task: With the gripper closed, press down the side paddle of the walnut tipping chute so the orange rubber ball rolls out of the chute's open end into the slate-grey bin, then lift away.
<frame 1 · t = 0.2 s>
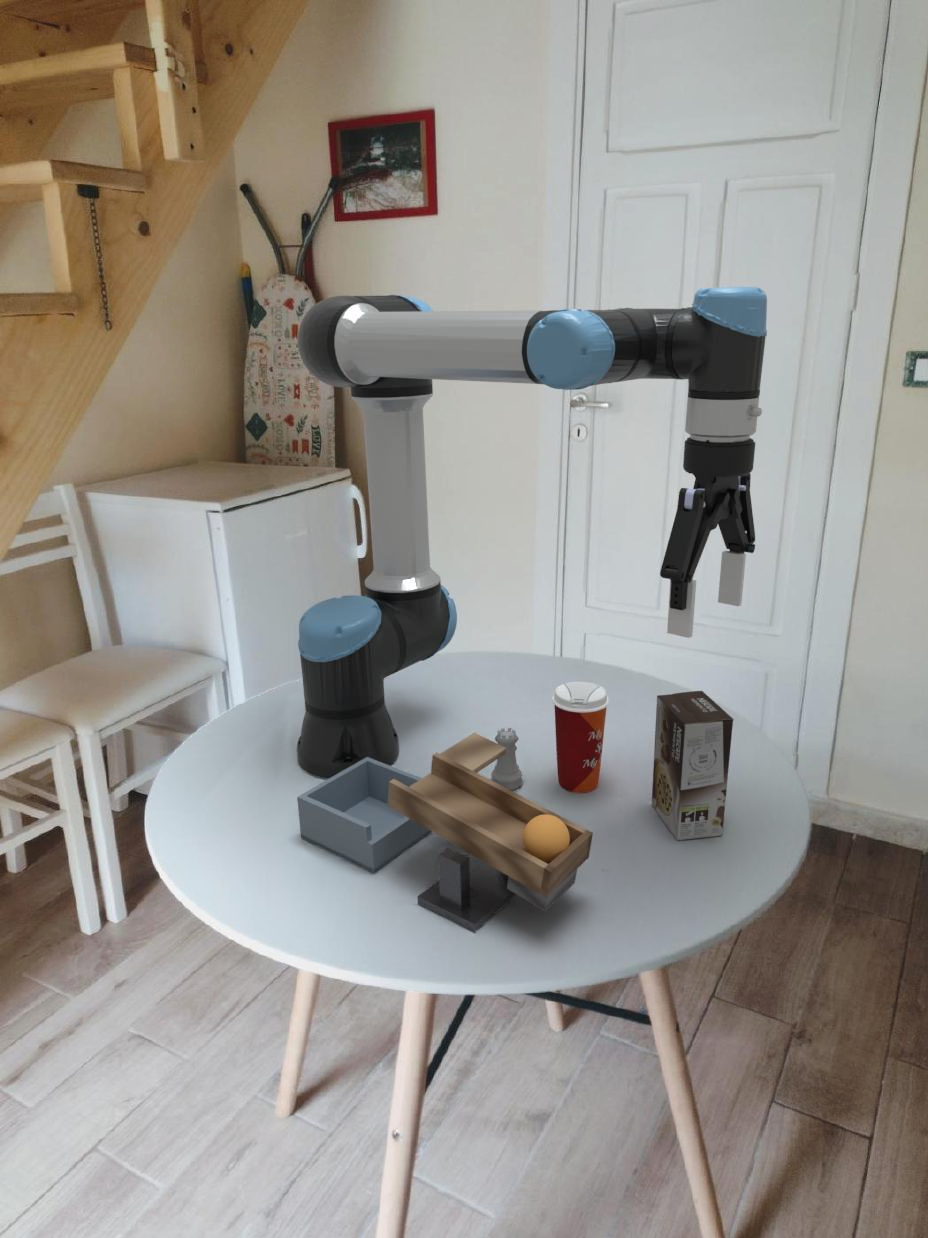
hand: (705, 618, 103), 28 cm above the table, tool pointing down, fingers open, 13 cm apart
ball: (546, 838, 93), point 9 cm above the table, tilted 25°, touching chute
bin: (371, 831, 111), on the table
paper cup: (578, 783, 122), on the table
chute: (503, 816, 101), point 7 cm above the table, hinge at -8.0°, touching ball
stand: (486, 883, 101), on the table
coffee box: (685, 820, 113), on the table
rook chess piece: (506, 784, 122), on the table
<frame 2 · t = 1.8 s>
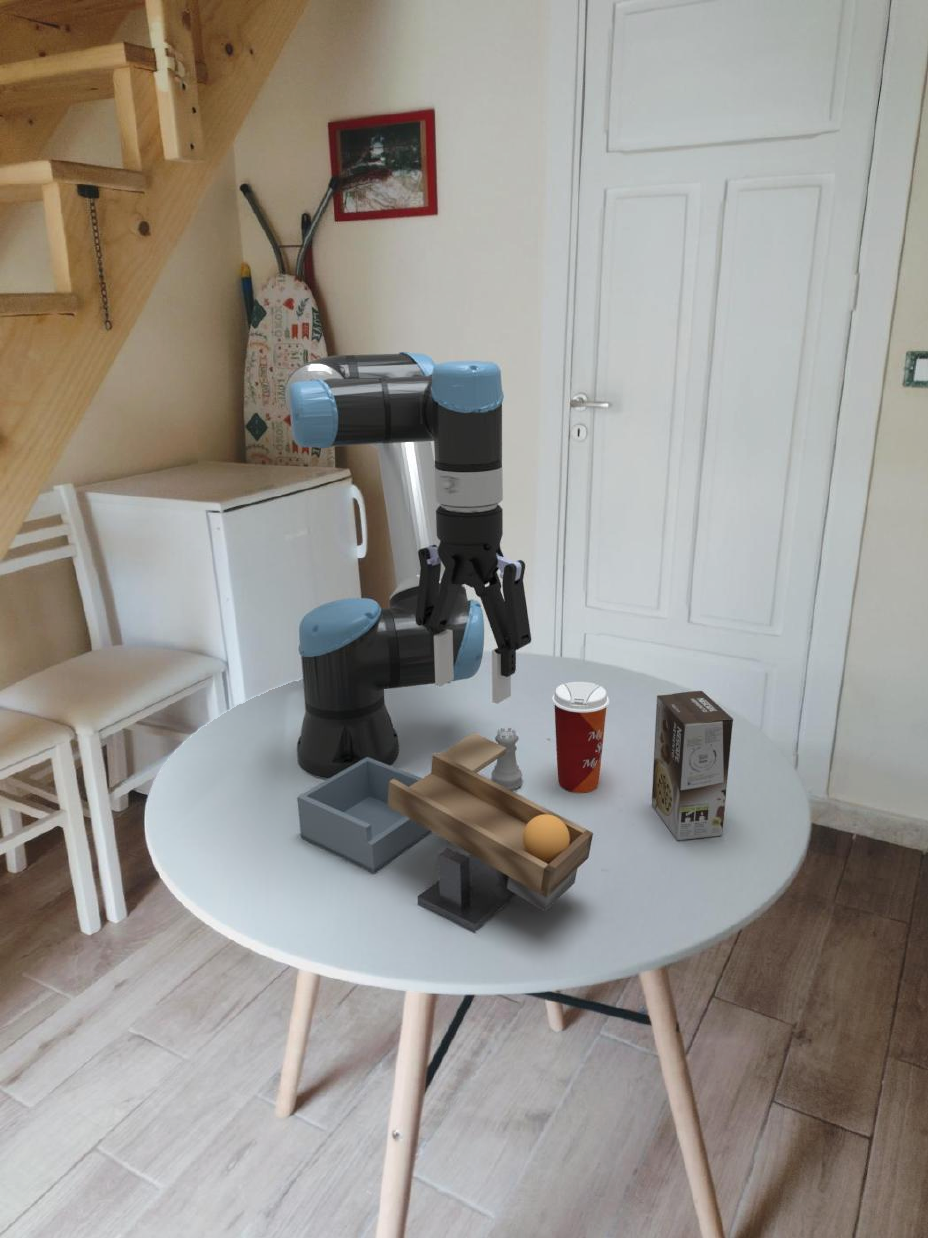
hand: (472, 690, 105), 19 cm above the table, tool pointing down, fingers open, 8 cm apart
nothing on the table moved.
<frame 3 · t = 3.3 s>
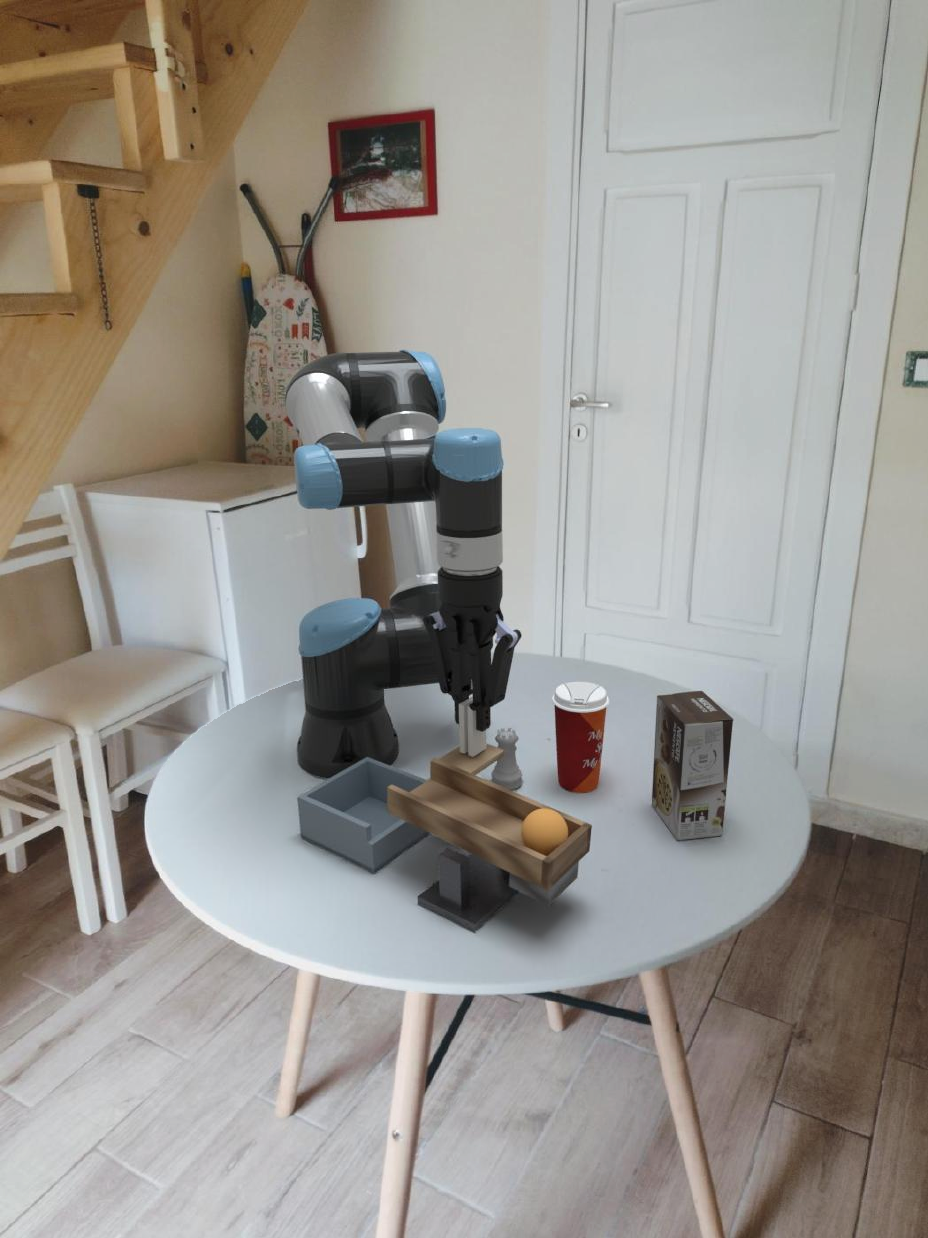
hand: (473, 750, 108), 11 cm above the table, tool pointing down, fingers closed, pressing on chute
chute: (503, 816, 101), point 7 cm above the table, hinge at -3.2°, touching ball, gripper
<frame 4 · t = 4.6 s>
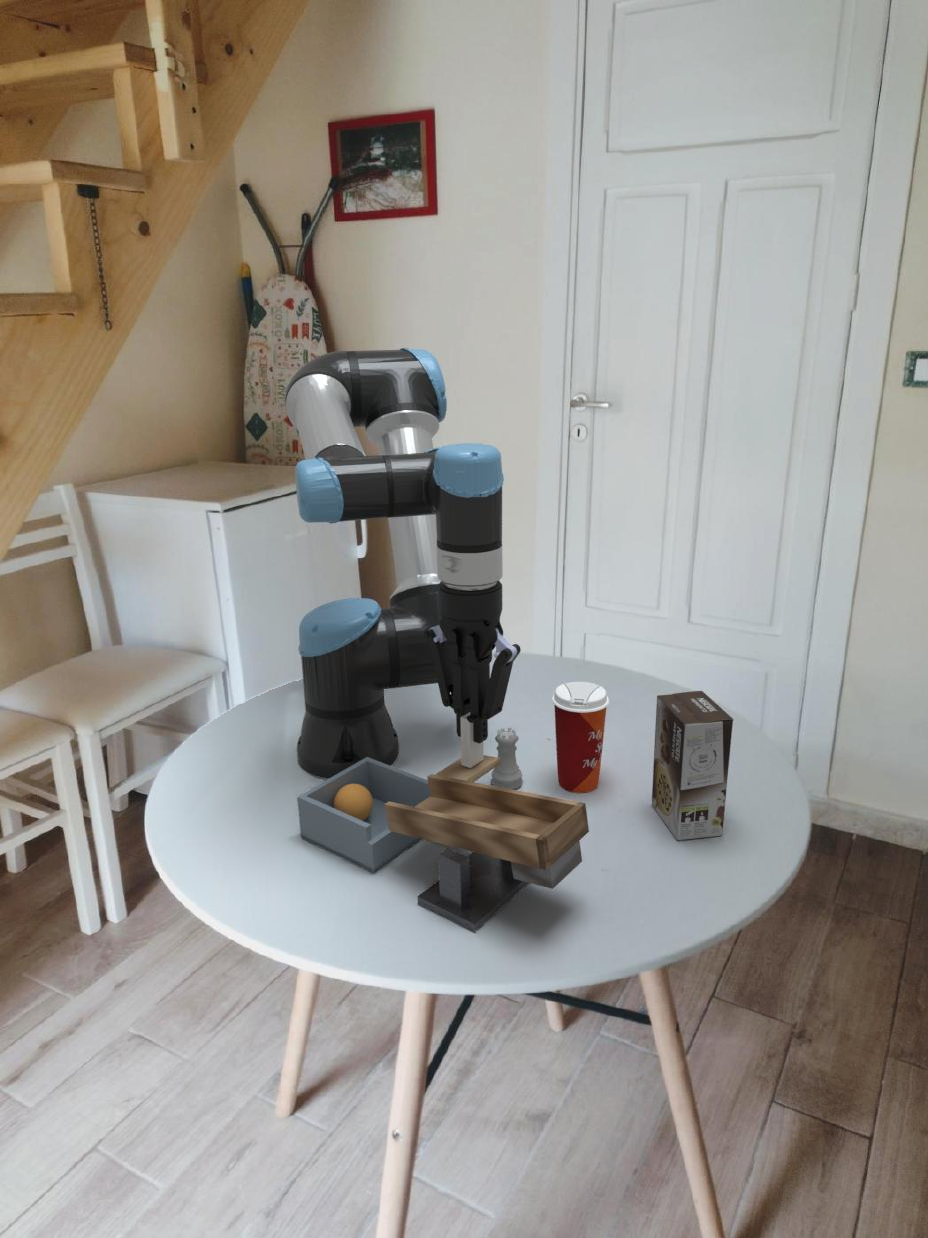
hand: (472, 762, 109), 9 cm above the table, tool pointing down, fingers closed
ball: (353, 803, 112), point 3 cm above the table, tilted 58°, touching bin
chute: (502, 815, 101), point 7 cm above the table, hinge at 9.4°, touching gripper
everything else where it was.
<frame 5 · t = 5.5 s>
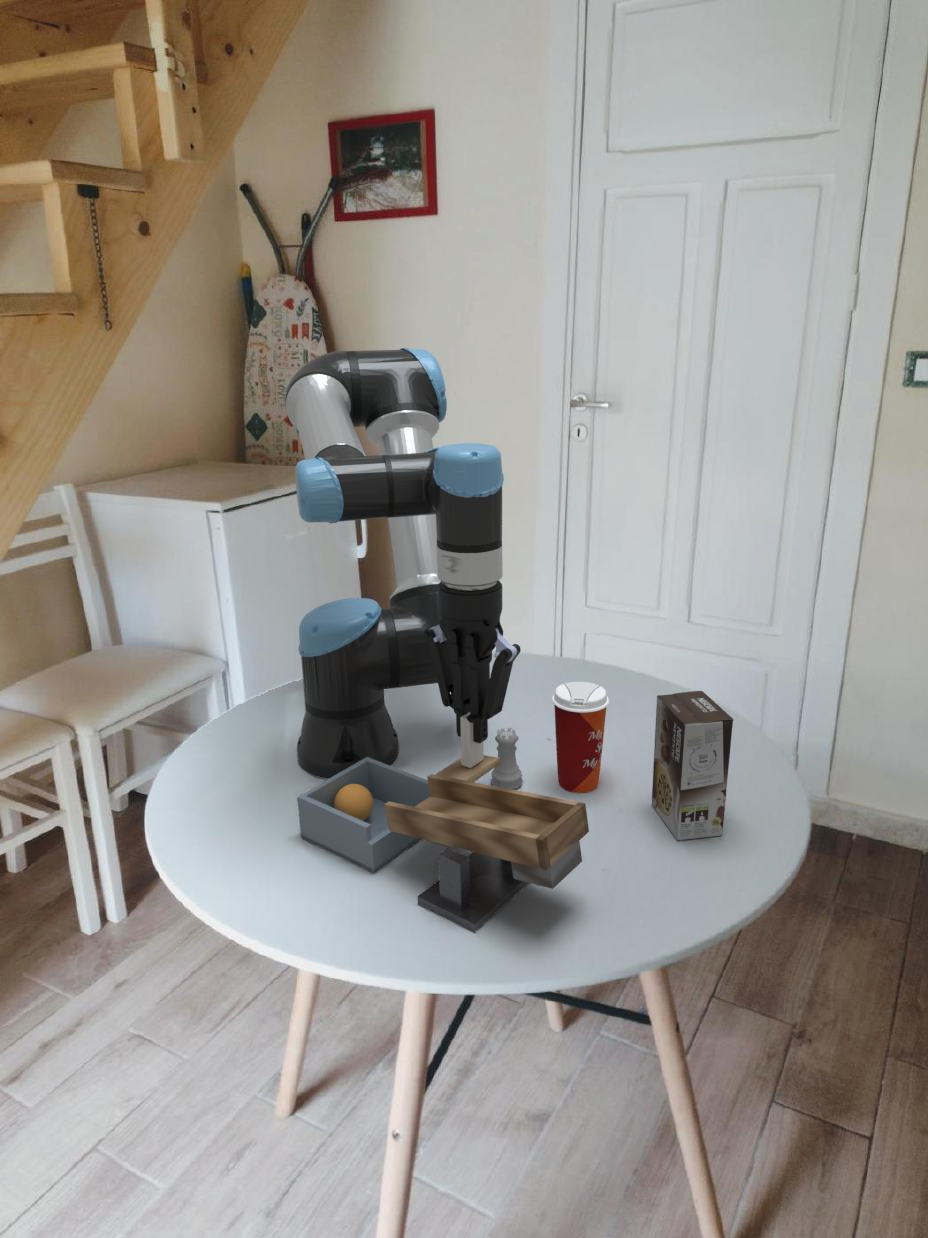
hand: (472, 762, 109), 9 cm above the table, tool pointing down, fingers closed
nothing on the table moved.
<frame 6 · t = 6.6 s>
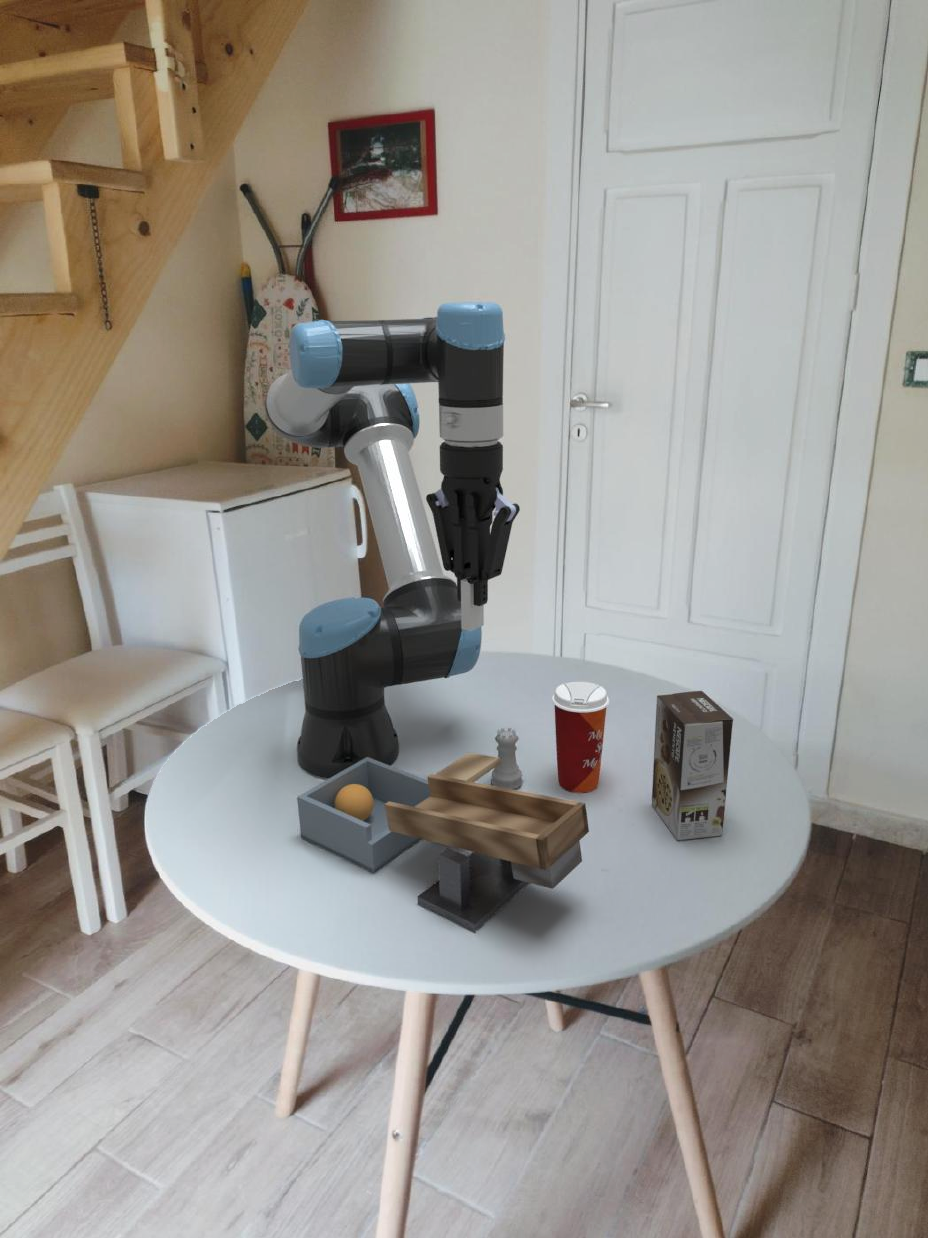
hand: (472, 626, 111), 24 cm above the table, tool pointing down, fingers closed
chute: (502, 815, 101), point 7 cm above the table, hinge at 9.4°
everything else where it was.
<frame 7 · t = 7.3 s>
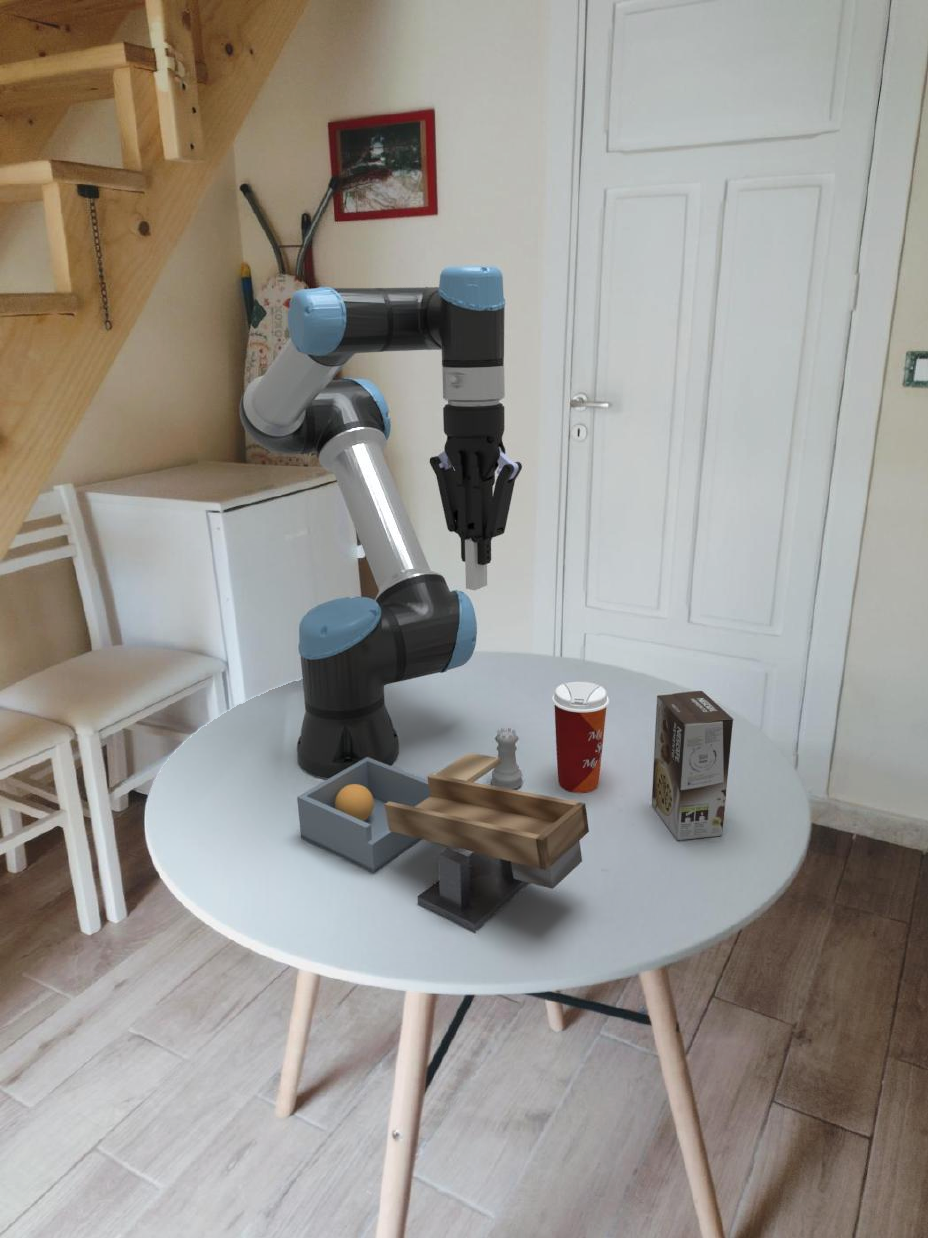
hand: (476, 586, 114), 28 cm above the table, tool pointing down, fingers closed
nothing on the table moved.
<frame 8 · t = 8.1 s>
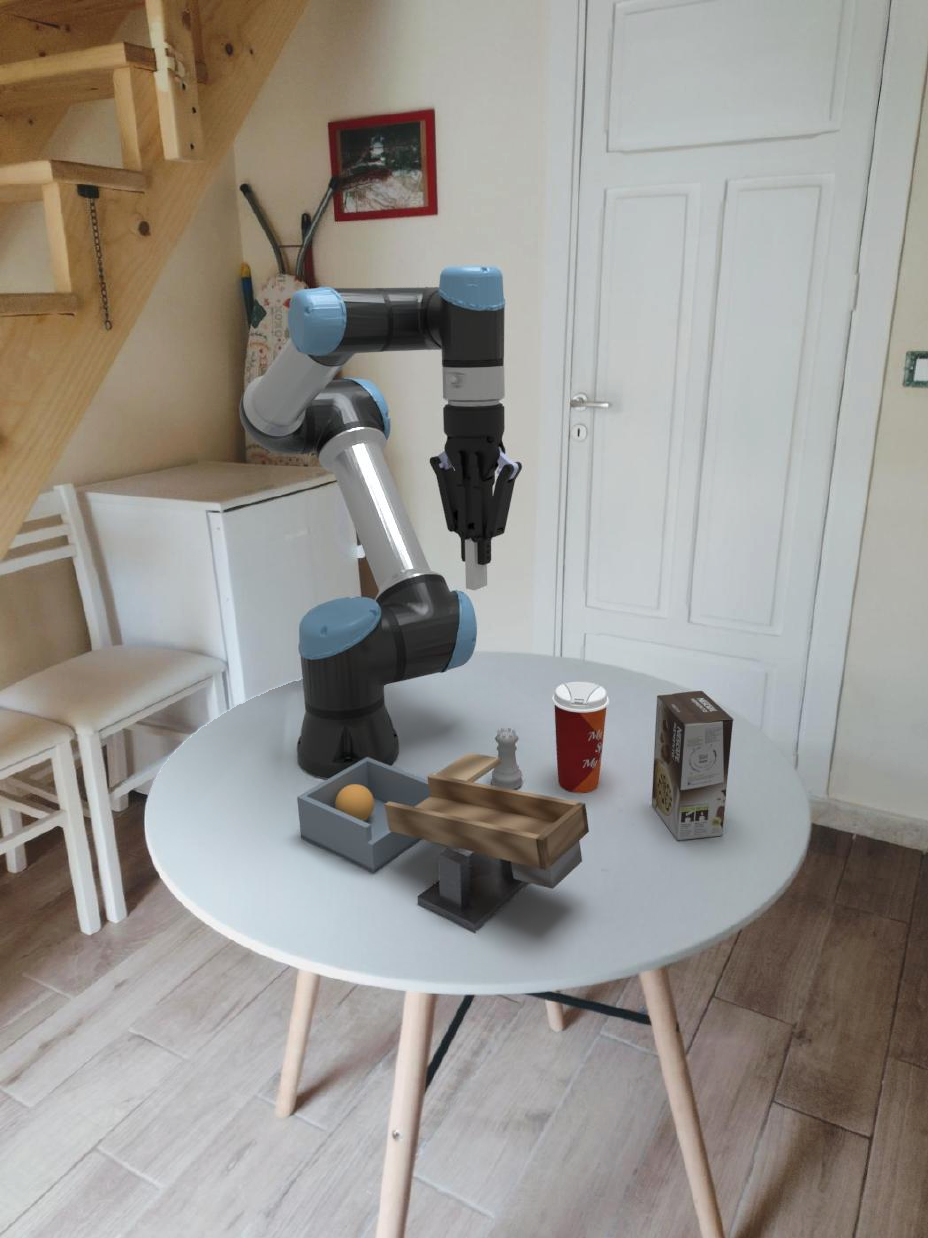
hand: (476, 586, 114), 28 cm above the table, tool pointing down, fingers closed
nothing on the table moved.
at the end: ball inside the target area on the bin (2.7 cm from its centre), point 3.1 cm above the bin's base; ball moved 28.6 cm from its start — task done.
